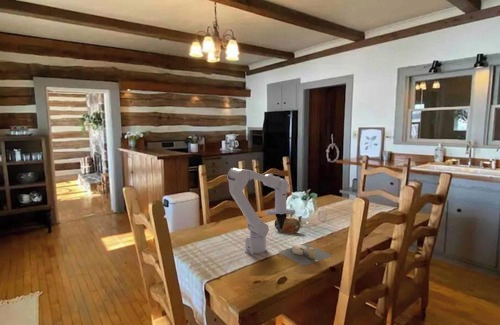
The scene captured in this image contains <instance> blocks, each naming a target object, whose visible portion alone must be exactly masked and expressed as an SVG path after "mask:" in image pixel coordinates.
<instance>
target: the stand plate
mask: <svg viewBox="0 0 500 325" xmlns="http://www.w3.org/2000/svg"><path fill="white" fill-rule="evenodd" d="M301 245H303V246H306V247H307V251H308V252H309V248H310V247H312V248H314V259H310V258H308V257H307V256H305V255H296V254H293V253H292V247H288V248H286V249H282V250H279V251H278V254H280V255H282V256H284V257H286V258H288V259H289V260H292V261H294V262H295V263H297V264H298V265H301V266H303V267H305V266H308V265H312V264H314V263H317V262H320V261H323V260H325V259H328V258H331V257H333V255H332V254H330V253H328V252H326V251H324V250H321V249H320V248H317V247H315V246H312V245H310V244H308V243H302V244H301Z"/></svg>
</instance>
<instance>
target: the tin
mask: <svg viewBox="0 0 500 325" xmlns="http://www.w3.org/2000/svg"><path fill="white" fill-rule="evenodd" d="M274 227H275V229H276V230H277V231H278V232H280V233H288V234H296V233H298V232H299V231H300V229H301V223H300V220H298V219H296V218H294V217H286V219H285V221H284V224H283V229H280V228H279V223H278V220H277V218H276V219H275V220H274Z"/></svg>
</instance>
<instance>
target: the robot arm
mask: <svg viewBox="0 0 500 325" xmlns="http://www.w3.org/2000/svg"><path fill="white" fill-rule="evenodd" d="M226 179H227V181H228V188H229V189H228V190H229V194H230V195H231V197H232V199H233V200H234V202H235V203H236V205H237V206H238V208H239V209H240V211H241V212H242V214H243V216H244V217H245V219H246V225H247V229H248V231H250V232H249V233H250V235H249V236H248V237H246V238H245V250H244V252H245V254H248V253H249V254H251V255H255V254H260V253H264V252H266V249H267V244H266V243H267V239H266V238H267V235H268V234H269V225H268V224H267V223H265V222H264V221H263V220H262V219H261V218H260V217H259V216H258V214H257V213H256V211H255V209H254V207H253V206H252V205H251V203H250V202H249V200H248V198H247V196H246V195H245V193H244V192H243V191H244V189H245V187H246V185H247V184H248V183H249V181H252V180H256V181H259V182H262V184H263V186H265V187H266V186H267V187H268V188H271V189H274V200H275V201H274V209H268V210H266V212H265V214H266V216H272V215H275V217H276V219H277V220H278V223H279V228H280V229H283V224H284V221H285V219H286V218H288V217H287V216H288V215H296V210H295V209H287V193H288V189H289V187H290V183H289V182H288V181H287V179H285V178H281V177H280V176H275V175H274V174H273V173H271V172H270V173H266V174H262V173H259V172H256V171H254V170H250V169H244V168H238V167H231V168H230V169H229V170H228V172H227V176H226Z"/></svg>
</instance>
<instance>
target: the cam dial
mask: <svg viewBox="0 0 500 325" xmlns="http://www.w3.org/2000/svg"><path fill="white" fill-rule="evenodd" d="M291 248H292V253H293V254H296V255H305V256H307V257H308V258H310V259H314V248H312V247H310V248H309V252H308V251H307V247H306V246H303V245H302V244H296V245H293V246H292V247H291Z"/></svg>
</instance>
